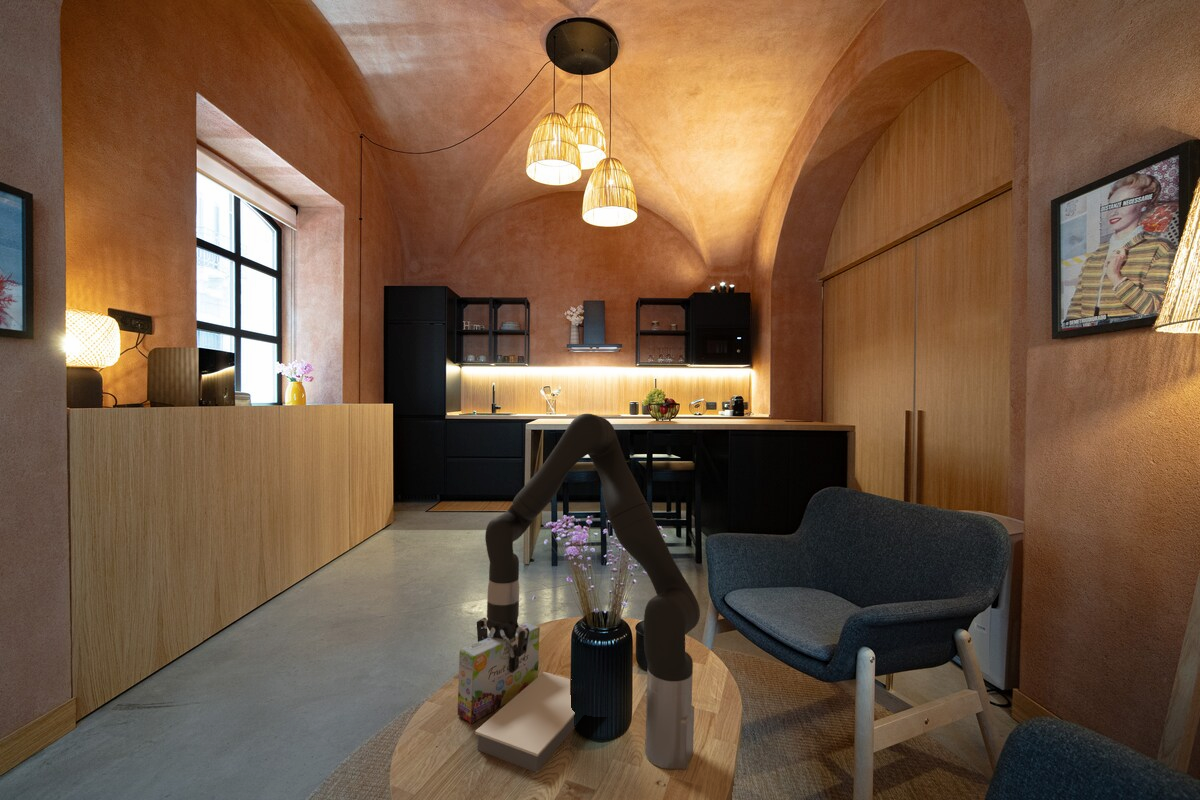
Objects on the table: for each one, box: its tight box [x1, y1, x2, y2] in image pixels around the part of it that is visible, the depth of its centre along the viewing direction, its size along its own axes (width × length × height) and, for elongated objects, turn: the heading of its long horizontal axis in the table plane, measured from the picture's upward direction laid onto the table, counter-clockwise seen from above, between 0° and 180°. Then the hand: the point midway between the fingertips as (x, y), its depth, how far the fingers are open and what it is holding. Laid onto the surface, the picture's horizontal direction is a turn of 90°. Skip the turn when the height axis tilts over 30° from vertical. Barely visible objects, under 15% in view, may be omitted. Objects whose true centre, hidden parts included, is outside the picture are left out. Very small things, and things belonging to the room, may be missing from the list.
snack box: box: [457, 621, 541, 724], centre depth 125 cm, size 21×6×15 cm, turn 143°
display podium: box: [474, 671, 576, 773], centre depth 115 cm, size 15×27×4 cm, turn 155°
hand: (501, 667), depth 125 cm, fingers closed on snack box, 6 cm apart
